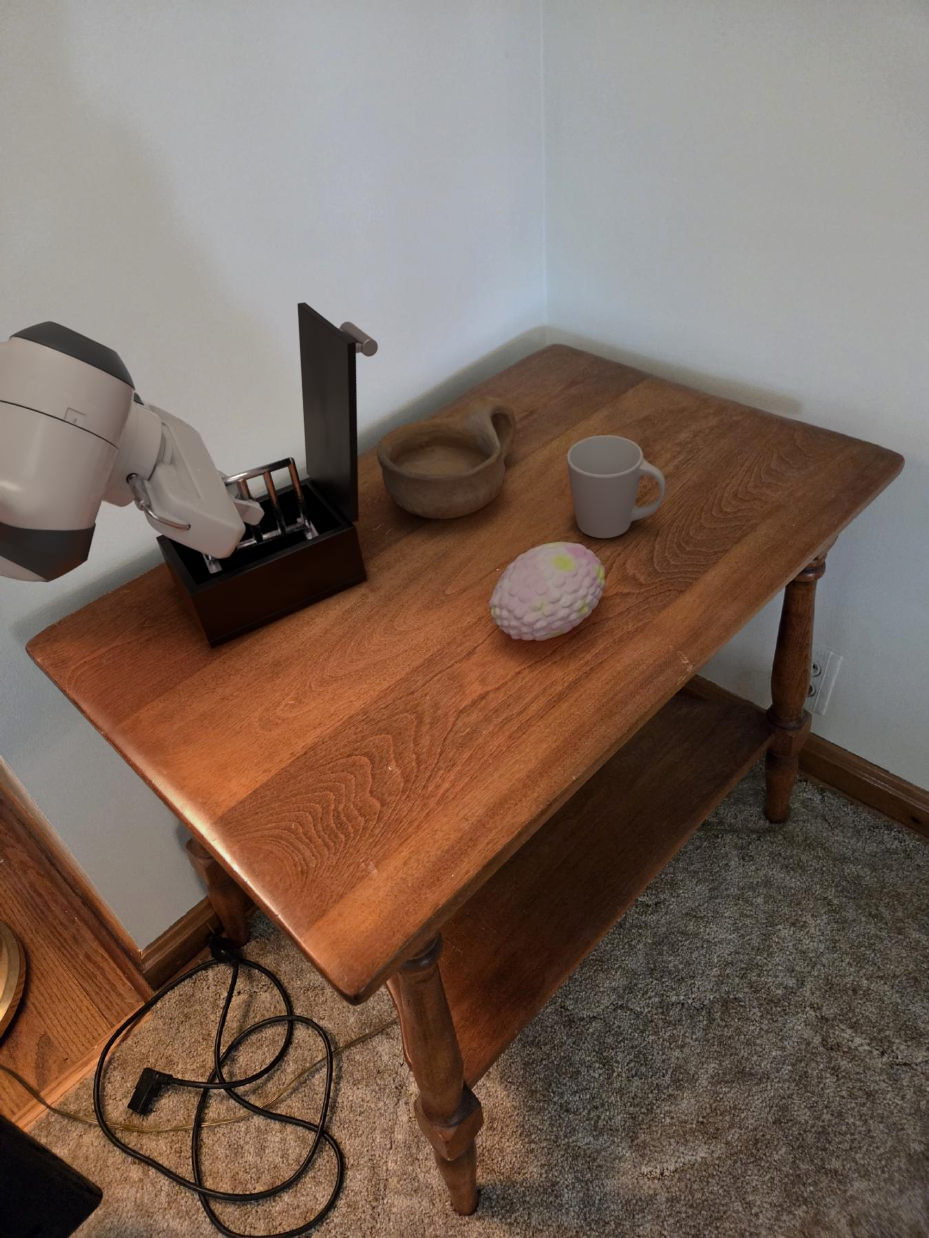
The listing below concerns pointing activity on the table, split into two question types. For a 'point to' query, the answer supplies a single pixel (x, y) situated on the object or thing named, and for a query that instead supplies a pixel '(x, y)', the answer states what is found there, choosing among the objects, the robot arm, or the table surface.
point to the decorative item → (547, 591)
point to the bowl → (449, 460)
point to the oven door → (331, 404)
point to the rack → (258, 536)
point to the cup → (609, 484)
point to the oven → (269, 569)
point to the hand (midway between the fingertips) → (255, 509)
